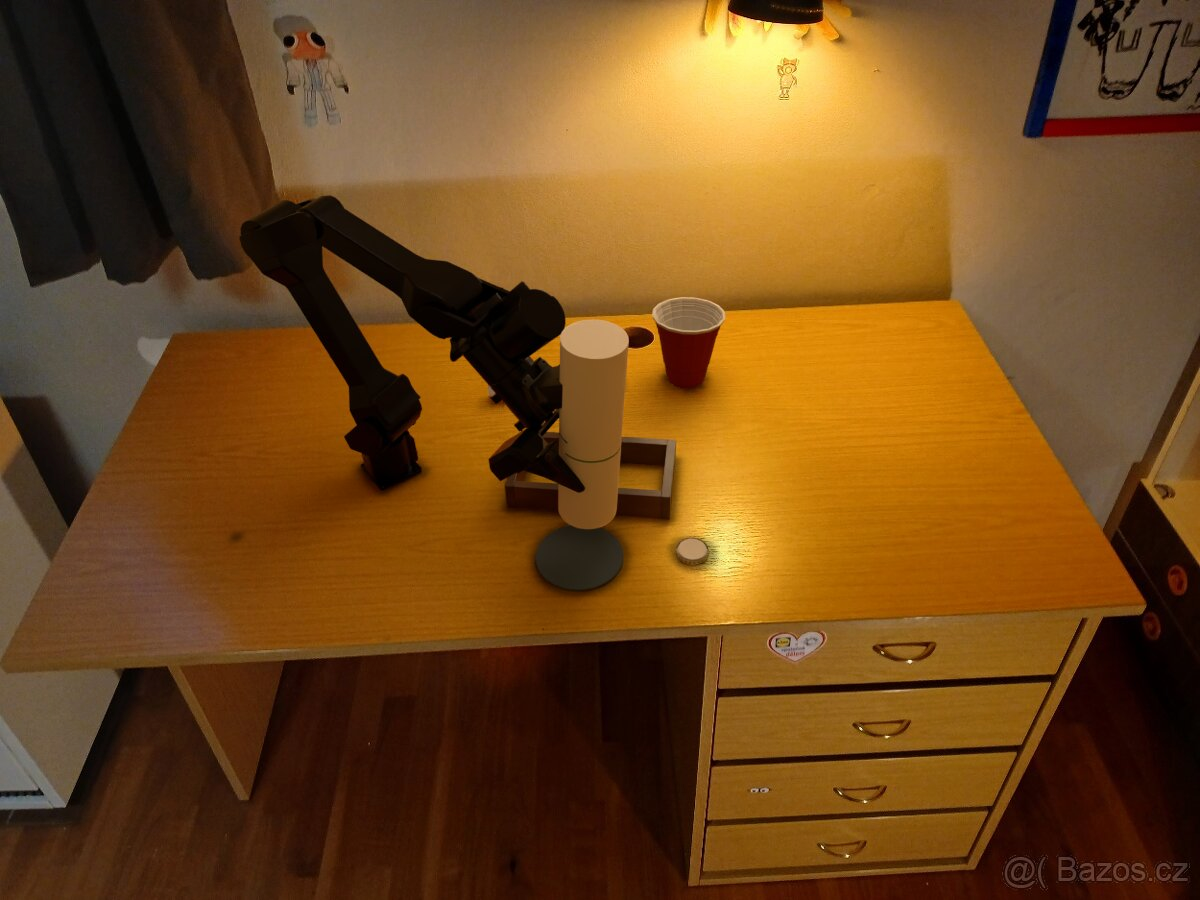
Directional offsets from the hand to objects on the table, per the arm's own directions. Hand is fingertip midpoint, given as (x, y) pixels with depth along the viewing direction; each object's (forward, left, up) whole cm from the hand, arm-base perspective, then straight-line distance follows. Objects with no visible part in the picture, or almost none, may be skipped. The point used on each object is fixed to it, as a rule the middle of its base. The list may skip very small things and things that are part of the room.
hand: (596, 472), depth 106 cm
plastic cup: (+33, +20, -13) cm, 41 cm away
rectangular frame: (+7, +10, -13) cm, 18 cm away
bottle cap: (+9, -8, -13) cm, 18 cm away
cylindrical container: (-1, +1, -7) cm, 7 cm away
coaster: (-3, +1, -13) cm, 14 cm away
